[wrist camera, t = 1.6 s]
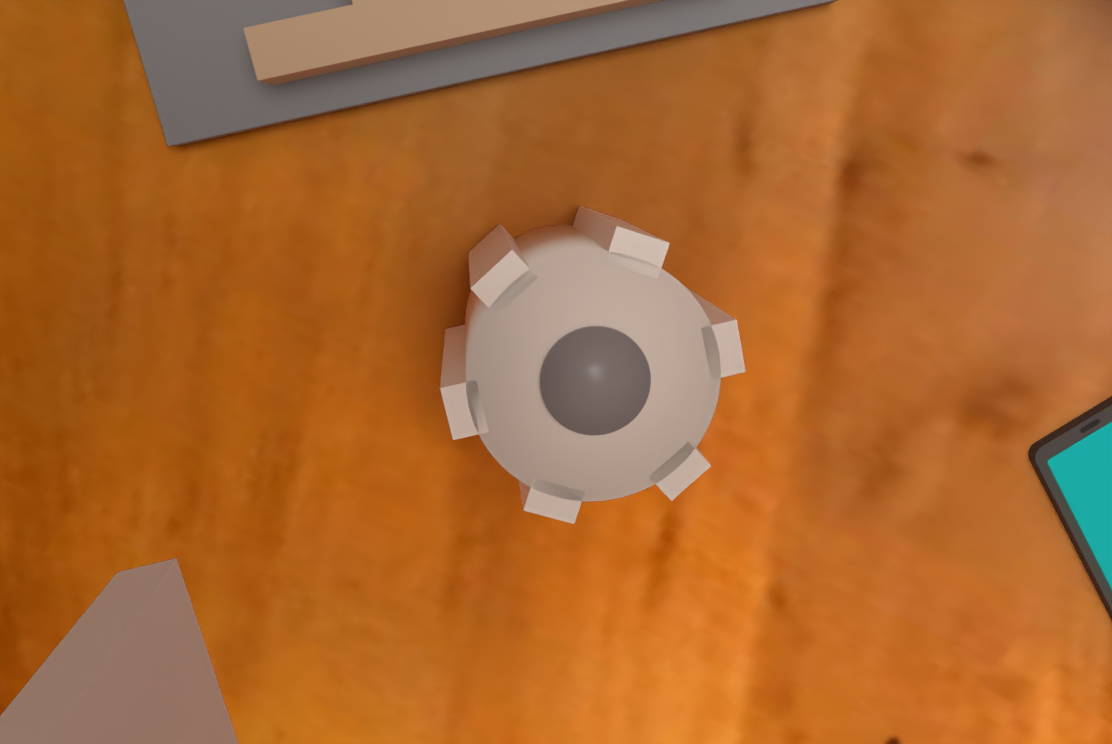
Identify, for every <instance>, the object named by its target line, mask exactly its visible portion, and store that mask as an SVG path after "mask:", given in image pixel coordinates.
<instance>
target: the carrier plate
mask: <svg viewBox="0 0 1112 744" xmlns="http://www.w3.org/2000/svg"><path fill="white" fill-rule="evenodd" d="M835 1H838V0H124V3H125V7H126V10H127V13H128V17H129V20H130V23H131V26H132V30H133V33H134V36H135V40H136V43H137V46H138V50H139V53H140V56H141V59H142V63H143V66H144V69H145V73H146V76H147V79H148V83H149V86H150V89H151V92H152V96H153V99H154V102H155V106H156V109H157V112H158V116H159V119H160V122H161V126H162V129H163V132H164V135H165V139H166V142H167V145H168V146H181V145H186V144H190V143H195V142H199V141H204V140H209V139H213V138H218V137H222V136H227V135H231V134H236V133H240V132H245V131H250V130H254V129H259V128H263V127H268V126H272V125H277V124H282V123H286V122H291V121H295V120H300V119H304V118H309V117H313V116H318V115H323V114H327V113H332V112H336V111H341V110H345V109H350V108H355V107H359V106H364V105H368V104H373V103H377V102H382V101H386V100H391V99H396V98H400V97H405V96H409V95H414V94H418V93H423V92H427V91H432V90H437V89H441V88H446V87H450V86H455V85H459V84H464V83H469V82H473V81H478V80H482V79H487V78H491V77H496V76H500V75H505V74H510V73H514V72H519V71H523V70H528V69H532V68H537V67H542V66H546V65H551V64H555V63H560V62H564V61H569V60H573V59H578V58H583V57H587V56H592V55H596V54H601V53H605V52H610V51H614V50H619V49H624V48H628V47H633V46H637V45H642V44H646V43H651V42H656V41H660V40H665V39H669V38H674V37H678V36H683V35H687V34H692V33H697V32H701V31H706V30H710V29H715V28H719V27H724V26H729V25H733V24H738V23H742V22H747V21H751V20H756V19H760V18H765V17H770V16H774V15H779V14H783V13H788V12H792V11H797V10H801V9H806V8H811V7H815V6H820V5H824V4H829V3H832V2H835Z"/></svg>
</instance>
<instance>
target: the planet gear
mask: <svg viewBox="0 0 1112 744" xmlns="http://www.w3.org/2000/svg"><path fill="white" fill-rule="evenodd" d="M669 244H670V243H669V242H667V241H665V240H663V239H661V238H658V237H656V236H654V235H652V234H650V233H648V232H646V231H644V230H642V229H640V228H638V227H636V226H634V225H632V224H630V223H628V222H626V221H624V220H621V219H619V218H616V217H613V216H610V215H607V214H604V213H601V212H598V211H595V210H591V209H588V208H585V207H582V206H579V207H578V210H577V213H576V217H575V220H574V223H573V225H552V226H545V227H541V228H537V229H534V230H530V231H528V232H526V233H523V234H521V235H519V236H517V237H515V238H513V237H512V236H511V235H510V234H509V233H508V231H507V230H506V229H505V228H504V227H503V226H502V225H501V224H499V225H498V226H497V227H495V228H494V229H493V230H492V231H491V232H490V233H489V234H488V235H487V236H486V237H485V238H484V239H483V240H481V241H480V242H479V243H478V244H477V245H476V246H475V247H474V248H473V249H472V250H471V251H470V252H469V253H468V254H469V273H470V289H471V291H470V294H469V297H468V302H467V306H466V314H465V325H460V326H456V327H452V328H447V329H445V339H444V350H443V361H442V372H441V382H440V390H441V394H442V398H443V402H444V406H445V410H446V414H447V418H448V422H449V426H450V430H451V434H452V438H453V440H456V439H461V438H465V437H469V436H474V435H478V434H479V436H480V438H481V440H482V442H483V443H484V445H485V446H486V448H487V449H488V451H489V452H490V454H491V455H492V456H493V457H494V458H495V459H496V460H497V462H498V463H499V464H500V465H501V466H502V467H503V468H504V469H505V470H507V471H508V472H509V473H510V474H511V475H512V476H514V477H515V478H517V479H518V482H519V488H520V494H521V500H522V506H523V511H527V512H531V513H535V514H538V515H542V516H546V517H549V518H553V519H557V520H560V521H564V522H568V523H572V524H574V523H575V520H576V517H577V514H578V511H579V508H580V505H581V502H582V501H586V502H589V501H606V500H611V499H617V498H622V497H625V496H628V495H631V494H635V493H637V492H639V491H642V490H644V489H646V488H648V487H651V486H652V485H654V484H656V485H657V486H658V487H659V488H660V489H661V490H662V491H663V493H664V494H665V495H666V496H667V497H668V498H669V499H670V500H671V501H672V500H673V499H674V498H675V497H677V496H678V495H679V494H680V493H681V492H682V491H683V490H685V489H686V488H687V487H688V486H689V485H690V484H691V483H692V482H694V481H695V480H696V479H697V478H698V477H699V476H700V475H702V474H703V473H704V472H705V471H706V470H707V469H708V468H710V467H711V465H710V463H709V462H708V461H707V459H706V458H705V457H704V455H703V454H702V453H701V452H700V450H699V449H698V448H697V445H698V444H699V443H700V441H701V439H702V438H703V436H704V434H705V433H706V431H707V429H708V427H709V424H710V422H711V420H712V417H713V415H714V412H715V408H716V405H717V401H718V397H719V390H720V384H721V378H722V377H726V376H730V375H735V374H739V373H743V372H746V371H745V365H744V359H743V353H742V348H741V342H740V336H739V330H738V325H737V320H736V319H735V318H733V317H732V316H730V315H729V314H727V313H726V312H724V311H723V310H721V309H719V308H718V307H716V306H715V305H713V304H712V303H710V302H709V301H707V300H706V299H704V298H702V297H701V296H699V295H698V294H696V293H695V292H693V291H692V290H690V289H689V288H687V287H685V286H684V285H683V284H682V283H681V282H680V281H678V280H677V279H676V278H674V277H673V276H672V275H670V274H669V273H668V272H666V271H665V270H663V269H662V265H663V262H664V259H665V256H666V253H667V250H668V247H669Z"/></svg>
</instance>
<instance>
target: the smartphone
mask: <svg viewBox="0 0 1112 744" xmlns="http://www.w3.org/2000/svg"><path fill="white" fill-rule="evenodd" d="M1029 458H1030V461H1031V463H1032V465H1033V466H1034V468H1035V470H1036V472H1037V474H1038V476H1039V478H1040V480H1041V482H1042V484H1043V486H1044V488H1045V490H1046V492H1047V494H1048V496H1049V498H1050V500H1051V502H1052V504H1053V506H1054V508H1055V510H1056V512H1057V513H1058V515H1059V517H1060V519H1061V521H1062V523H1063V525H1064V527H1065V529H1066V531H1067V533H1068V535H1069V537H1070V539H1071V541H1072V543H1073V545H1074V547H1075V549H1076V551H1077V553H1078V555H1079V557H1080V558H1081V560H1082V562H1083V564H1084V566H1085V568H1086V570H1087V572H1088V574H1089V576H1090V578H1091V580H1092V582H1093V584H1094V586H1095V588H1096V590H1097V592H1098V594H1099V596H1100V598H1101V600H1102V602H1103V603H1104V605H1105V607H1106V609H1107V611H1108V613H1109V615H1110V617H1111V619H1112V397H1110V398H1108V399H1107V400H1105V401H1103V402H1102V403H1100V404H1098V405H1097V406H1095V407H1093V408H1092V409H1090V410H1089V411H1087V412H1085V413H1084V414H1082V415H1080V416H1079V417H1077V418H1075V419H1074V420H1072V421H1070V422H1069V423H1067V424H1065V425H1064V426H1062V427H1060V428H1059V429H1057V430H1055V431H1054V432H1052V433H1050V434H1049V435H1047V436H1045V437H1044V438H1042V439H1041V440H1039V441H1037V442H1036V443H1034V444H1033V445H1032V446H1031V448H1030V450H1029Z"/></svg>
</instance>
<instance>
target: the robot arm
mask: <svg viewBox="0 0 1112 744" xmlns="http://www.w3.org/2000/svg"><path fill="white" fill-rule="evenodd" d="M0 744H238V740H237V737H236V734H235V731H234V728H233V725H232V722H231V719H230V716H229V713H228V710H227V707H226V705H225V702H224V699H223V696H222V693H221V690H220V687H219V684H218V681H217V678H216V675H215V672H214V669H213V666H212V663H211V660H210V657H209V654H208V651H207V648H206V645H205V642H204V639H203V636H202V633H201V630H200V627H199V624H198V621H197V618H196V615H195V612H194V609H193V606H192V603H191V600H190V597H189V594H188V591H187V588H186V585H185V582H184V579H183V576H182V573H181V570H180V567H179V564H178V561H177V558H175V559H171V560H167V561H162V562H158V563H154V564H150V565H145V566H141V567H137V568H133V569H128V570H124V571H120V572H117V573H116V574H115V576H114V577H113V578H112V579H111V580H110V582H109V583H108V584H107V585H106V587H105V588H104V589H103V590H102V592H101V593H100V594H99V595H98V596H97V598H96V599H95V600H94V601H93V603H92V604H91V605H90V606H89V607H88V609H87V610H86V611H85V612H84V614H83V615H82V616H81V617H80V619H79V620H78V621H77V622H76V623H75V625H74V626H73V627H72V628H71V630H70V631H69V632H68V633H67V635H66V636H65V637H64V638H63V639H62V641H61V642H60V643H59V644H58V646H57V647H56V648H55V649H54V650H53V652H52V653H51V654H50V655H49V657H48V658H47V659H46V660H45V662H44V663H43V664H42V665H41V666H40V668H39V669H38V670H37V671H36V673H35V674H34V675H33V676H32V677H31V679H30V680H29V681H28V682H27V684H26V685H25V686H24V687H23V689H22V690H21V691H20V692H19V693H18V695H17V696H16V697H15V698H14V700H13V701H12V702H11V703H10V705H9V706H8V707H7V708H6V709H5V711H4V712H3V713H2V714H1V716H0Z"/></svg>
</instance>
